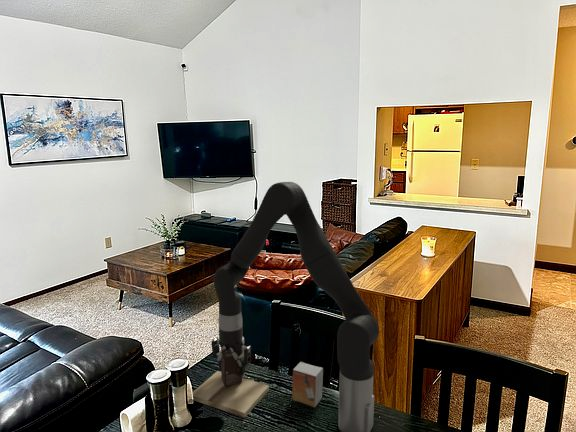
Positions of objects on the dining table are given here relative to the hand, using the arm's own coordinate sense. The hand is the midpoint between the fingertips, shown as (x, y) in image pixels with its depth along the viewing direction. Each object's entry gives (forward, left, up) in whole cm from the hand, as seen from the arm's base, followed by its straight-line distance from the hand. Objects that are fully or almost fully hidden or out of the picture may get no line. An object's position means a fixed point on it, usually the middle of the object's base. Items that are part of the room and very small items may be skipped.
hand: (231, 372), depth 137 cm
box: (0, 0, -4) cm, 4 cm away
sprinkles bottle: (+2, -7, -5) cm, 9 cm away
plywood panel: (-2, +4, -5) cm, 7 cm away
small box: (-25, -5, -5) cm, 26 cm away
